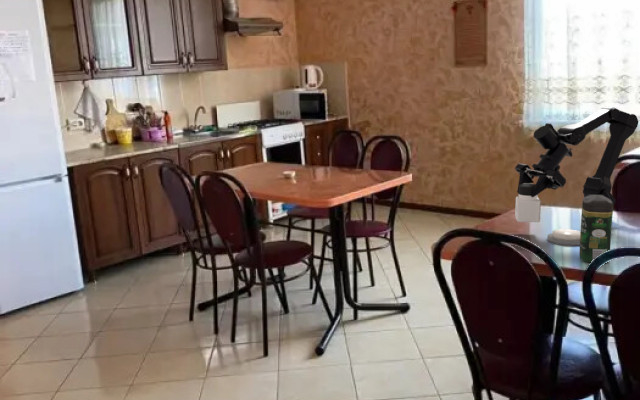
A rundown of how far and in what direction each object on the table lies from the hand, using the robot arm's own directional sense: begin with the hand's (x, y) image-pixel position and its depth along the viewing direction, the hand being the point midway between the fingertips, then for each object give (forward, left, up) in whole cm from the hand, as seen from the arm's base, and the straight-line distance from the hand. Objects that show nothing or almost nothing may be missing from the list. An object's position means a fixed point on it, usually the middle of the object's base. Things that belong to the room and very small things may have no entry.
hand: (524, 194), depth 205 cm
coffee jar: (+13, +28, -13) cm, 34 cm away
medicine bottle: (-1, +1, -9) cm, 9 cm away
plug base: (-1, +14, -13) cm, 20 cm away
